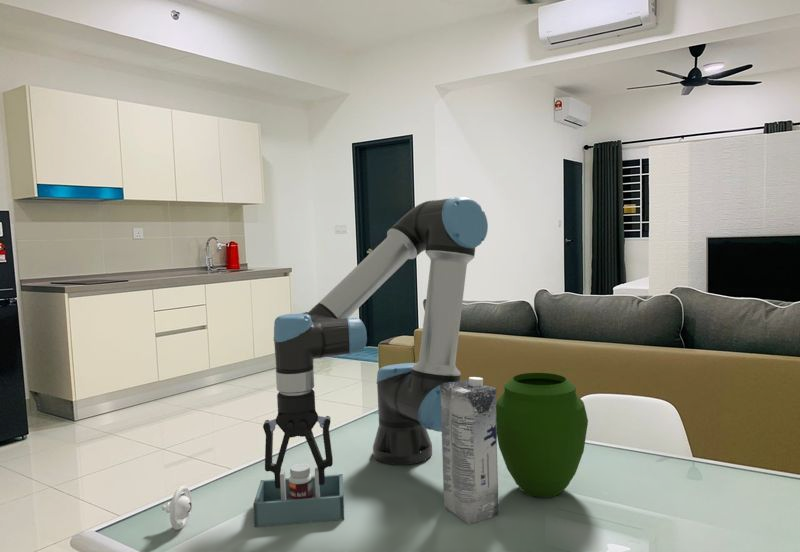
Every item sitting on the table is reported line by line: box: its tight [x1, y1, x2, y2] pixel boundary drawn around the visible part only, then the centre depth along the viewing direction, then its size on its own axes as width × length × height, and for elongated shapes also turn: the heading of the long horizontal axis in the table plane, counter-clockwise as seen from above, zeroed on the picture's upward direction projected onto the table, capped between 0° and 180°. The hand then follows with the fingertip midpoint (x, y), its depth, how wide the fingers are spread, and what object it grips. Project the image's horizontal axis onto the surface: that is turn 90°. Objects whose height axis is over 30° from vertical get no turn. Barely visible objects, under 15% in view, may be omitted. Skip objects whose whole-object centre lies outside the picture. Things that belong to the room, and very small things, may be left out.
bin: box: [252, 473, 345, 528], centre depth 121 cm, size 17×11×5 cm, turn 96°
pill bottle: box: [289, 463, 313, 500], centre depth 121 cm, size 5×5×8 cm
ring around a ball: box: [161, 485, 193, 531], centre depth 115 cm, size 8×6×8 cm
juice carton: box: [440, 376, 499, 525], centre depth 117 cm, size 9×10×27 cm
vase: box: [496, 372, 589, 499], centre depth 125 cm, size 20×20×24 cm
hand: (301, 501), depth 121 cm, fingers open, 6 cm apart
